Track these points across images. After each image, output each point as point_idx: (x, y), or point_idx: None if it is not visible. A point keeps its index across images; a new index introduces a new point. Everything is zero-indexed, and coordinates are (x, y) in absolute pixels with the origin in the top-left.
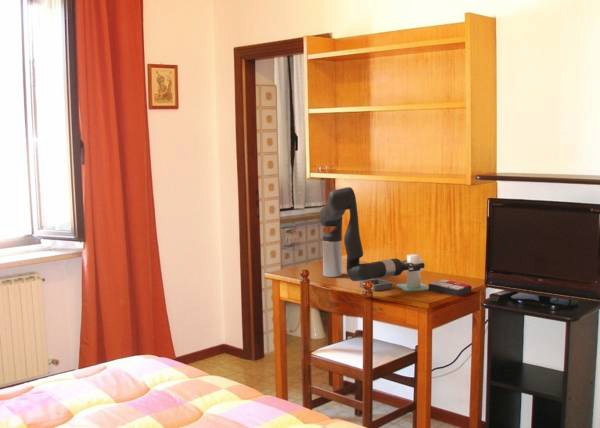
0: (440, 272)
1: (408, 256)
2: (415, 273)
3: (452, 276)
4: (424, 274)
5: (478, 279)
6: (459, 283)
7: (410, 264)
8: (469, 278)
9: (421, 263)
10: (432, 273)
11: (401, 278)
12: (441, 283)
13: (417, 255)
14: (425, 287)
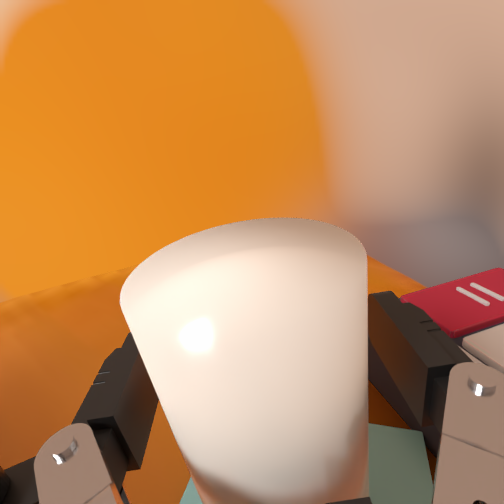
0: (135, 268)
1: (241, 346)
2: (367, 474)
3: None
4: (103, 308)
5: None
6: (484, 288)
7: (320, 453)
8: None
9: (414, 316)
10: (121, 286)
11: (28, 428)
12: (477, 358)
13: (281, 235)
14: (372, 456)
